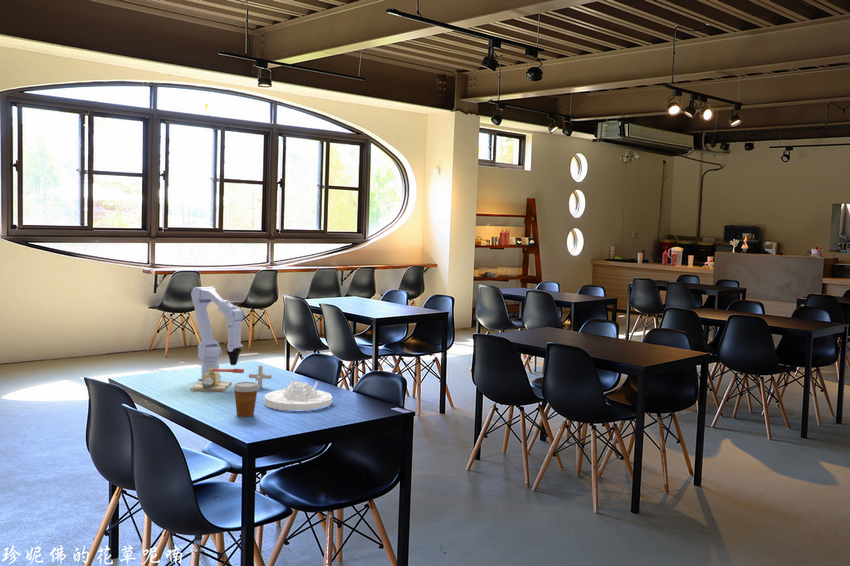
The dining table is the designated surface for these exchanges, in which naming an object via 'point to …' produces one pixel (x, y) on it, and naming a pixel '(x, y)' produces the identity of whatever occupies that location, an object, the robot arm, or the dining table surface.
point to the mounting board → (218, 388)
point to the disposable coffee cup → (245, 398)
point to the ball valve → (210, 379)
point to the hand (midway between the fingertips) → (233, 364)
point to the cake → (298, 397)
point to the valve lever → (227, 370)
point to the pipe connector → (260, 376)
